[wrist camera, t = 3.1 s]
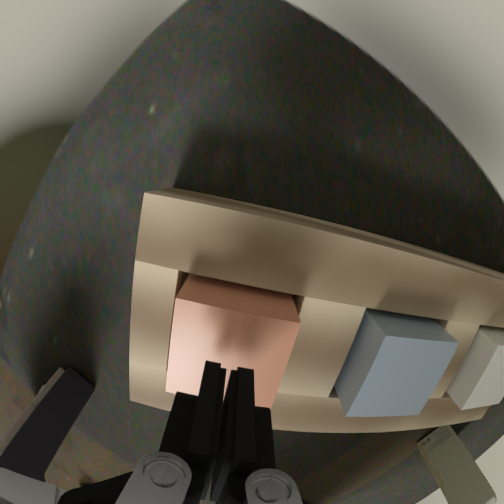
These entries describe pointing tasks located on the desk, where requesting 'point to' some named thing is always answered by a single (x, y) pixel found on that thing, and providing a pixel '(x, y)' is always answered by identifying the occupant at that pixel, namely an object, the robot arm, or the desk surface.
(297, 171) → the desk surface
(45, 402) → the calculator
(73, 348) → the desk surface
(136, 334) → the key console
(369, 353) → the slate key
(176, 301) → the terracotta key
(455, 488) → the skincare box
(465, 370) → the offwhite key
